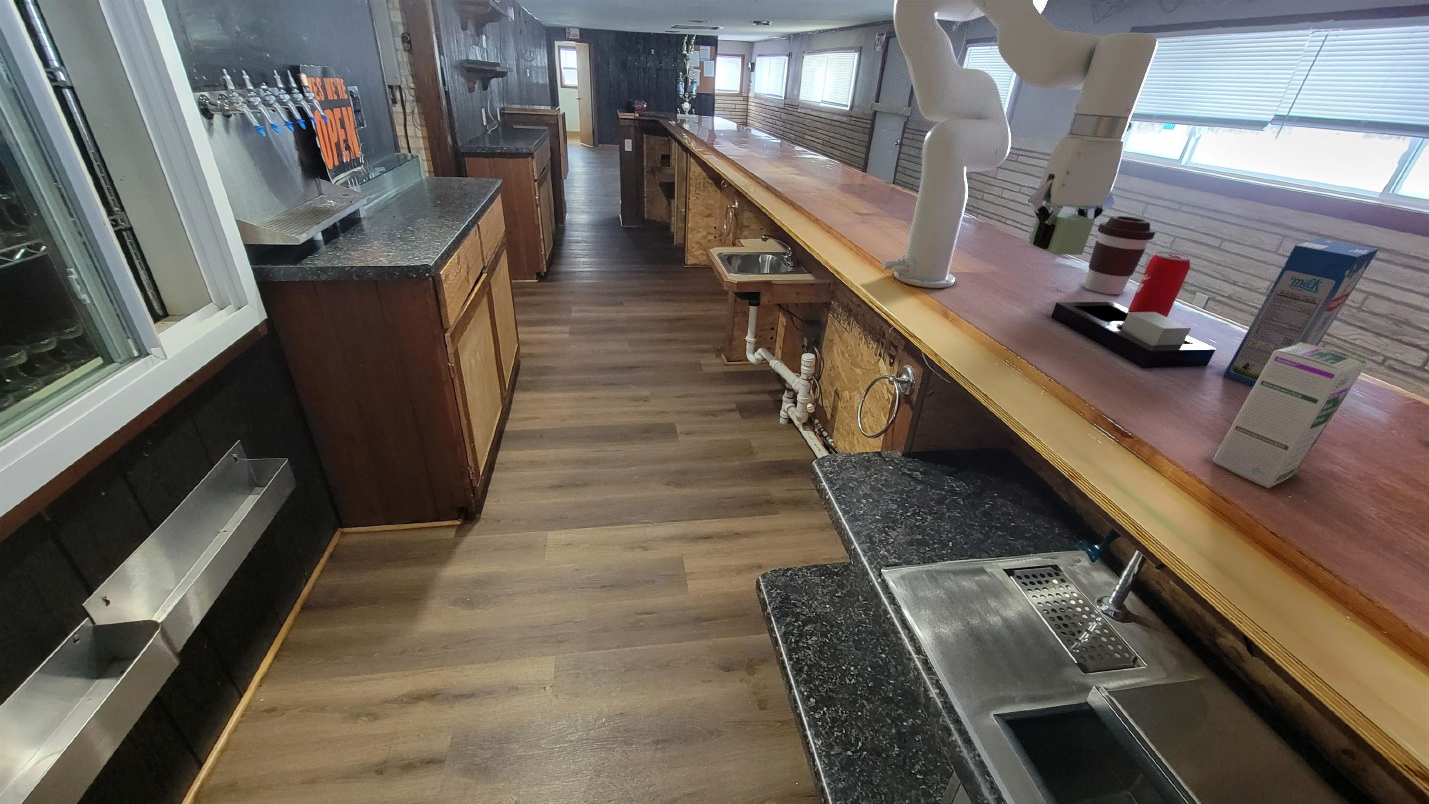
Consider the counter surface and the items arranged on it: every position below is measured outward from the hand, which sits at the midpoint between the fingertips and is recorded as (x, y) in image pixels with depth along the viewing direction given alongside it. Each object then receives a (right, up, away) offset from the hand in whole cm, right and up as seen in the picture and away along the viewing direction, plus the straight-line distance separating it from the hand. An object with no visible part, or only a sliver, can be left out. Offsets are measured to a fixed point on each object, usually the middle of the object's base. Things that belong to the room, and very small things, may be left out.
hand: (1055, 246), depth 95 cm
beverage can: (+25, -10, +13) cm, 30 cm away
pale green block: (0, 0, 0) cm, 0 cm away
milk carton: (+26, -23, -9) cm, 36 cm away
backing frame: (+13, -16, +2) cm, 20 cm away
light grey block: (+14, -18, -2) cm, 23 cm away
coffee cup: (+27, -2, +27) cm, 38 cm away
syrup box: (+4, -34, -31) cm, 46 cm away
